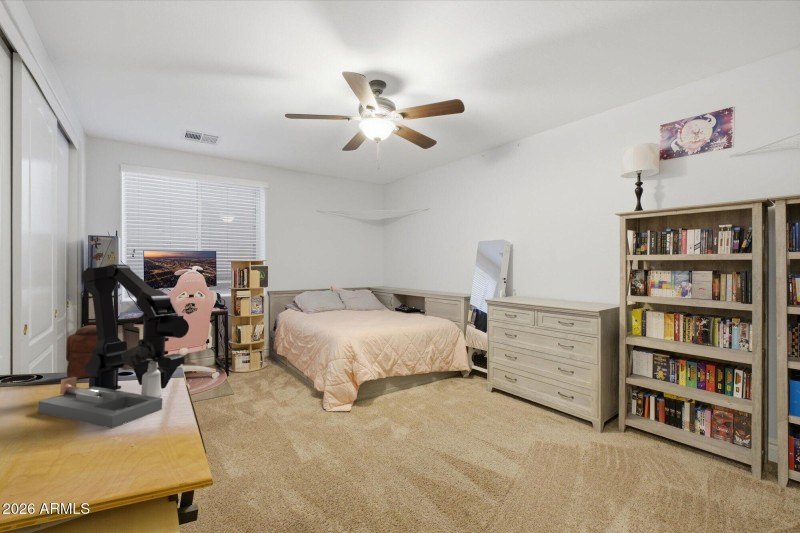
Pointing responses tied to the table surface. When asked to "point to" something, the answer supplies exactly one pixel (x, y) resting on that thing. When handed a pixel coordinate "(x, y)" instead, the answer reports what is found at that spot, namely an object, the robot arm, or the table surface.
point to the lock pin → (70, 387)
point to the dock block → (101, 407)
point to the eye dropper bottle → (152, 381)
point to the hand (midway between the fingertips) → (152, 386)
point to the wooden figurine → (80, 351)
